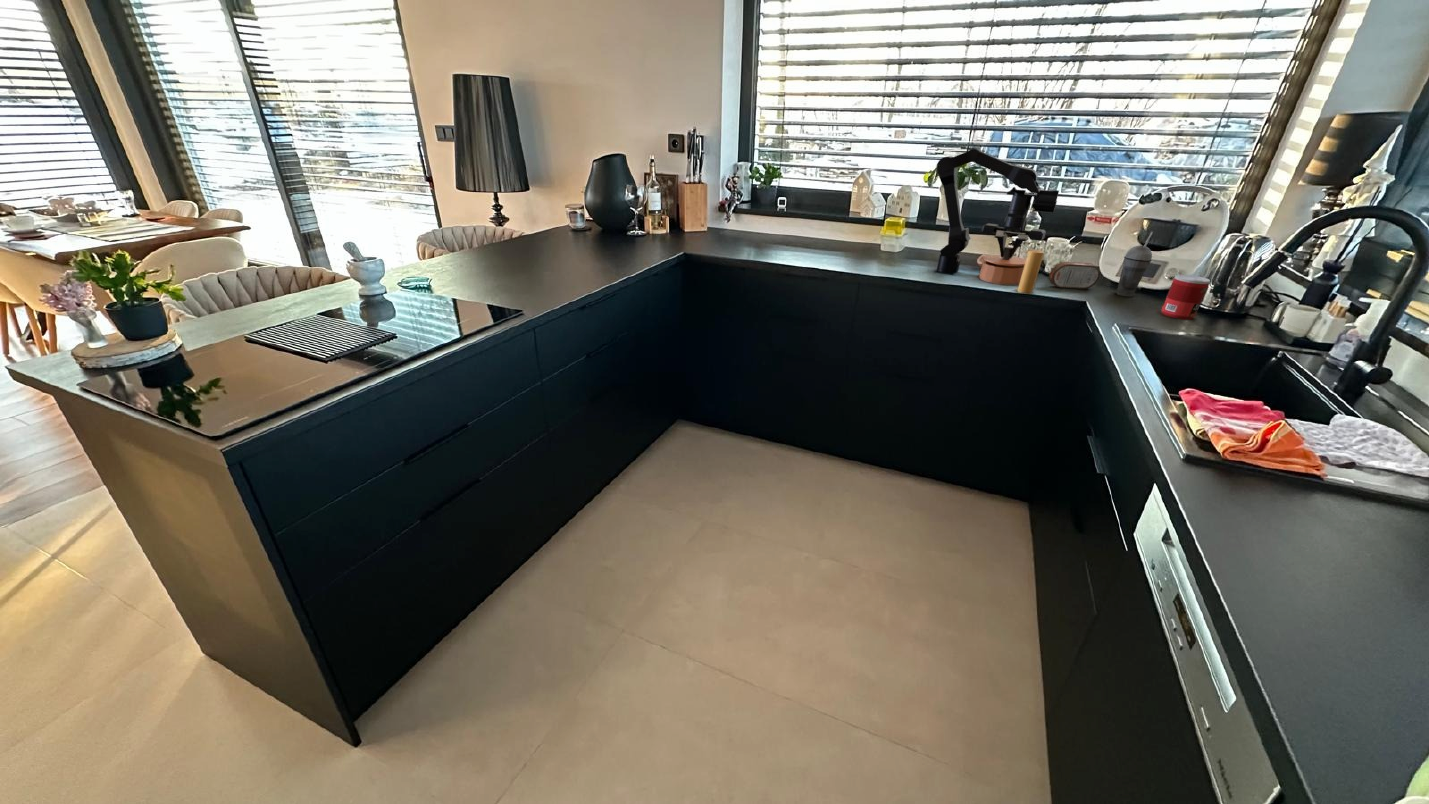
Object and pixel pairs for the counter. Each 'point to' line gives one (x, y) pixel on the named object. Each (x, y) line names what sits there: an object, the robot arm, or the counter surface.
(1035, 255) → the eggroll
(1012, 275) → the pot
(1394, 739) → the counter surface
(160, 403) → the counter surface
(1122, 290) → the beverage cup
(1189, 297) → the canned food
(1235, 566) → the counter surface
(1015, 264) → the lid
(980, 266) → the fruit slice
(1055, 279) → the tin
